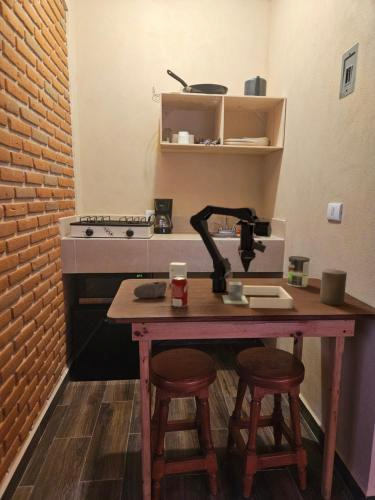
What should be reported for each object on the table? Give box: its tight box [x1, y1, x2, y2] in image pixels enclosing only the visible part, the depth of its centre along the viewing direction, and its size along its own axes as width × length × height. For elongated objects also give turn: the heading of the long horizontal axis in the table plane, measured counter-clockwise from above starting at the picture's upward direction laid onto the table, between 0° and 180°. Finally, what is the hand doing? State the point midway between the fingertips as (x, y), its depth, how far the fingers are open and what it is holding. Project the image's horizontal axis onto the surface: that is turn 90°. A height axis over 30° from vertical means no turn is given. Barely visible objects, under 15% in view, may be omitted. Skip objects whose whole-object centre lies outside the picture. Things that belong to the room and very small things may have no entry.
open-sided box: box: [242, 285, 294, 309], centre depth 137 cm, size 17×18×4 cm
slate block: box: [228, 281, 243, 301], centre depth 136 cm, size 5×5×7 cm
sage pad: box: [222, 294, 249, 305], centre depth 137 cm, size 10×10×1 cm
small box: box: [168, 261, 188, 285], centre depth 162 cm, size 8×6×10 cm
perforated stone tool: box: [133, 281, 167, 299], centre depth 139 cm, size 15×5×7 cm, turn 105°
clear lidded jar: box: [286, 255, 311, 288], centre depth 162 cm, size 10×10×14 cm
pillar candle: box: [319, 268, 348, 306], centre depth 135 cm, size 10×10×15 cm
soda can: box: [170, 276, 189, 309], centre depth 128 cm, size 7×7×12 cm
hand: (245, 269), depth 142 cm, fingers open, 9 cm apart
